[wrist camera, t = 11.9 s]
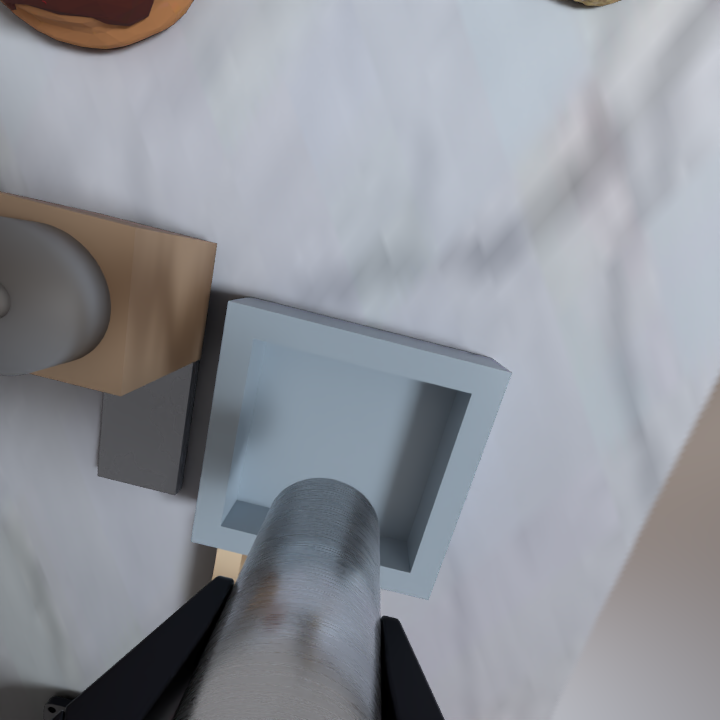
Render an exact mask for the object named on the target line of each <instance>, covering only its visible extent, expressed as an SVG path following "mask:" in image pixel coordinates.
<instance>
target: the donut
mask: <svg viewBox="0 0 720 720" xmlns="http://www.w3.org/2000/svg"><path fill="white" fill-rule="evenodd" d="M0 1H1V2H2V3H3V4H4V5H6V6H7V7H8V8H9V9H10V10H11V11H12V12H13V13H14V14H15V15H16V16H18V17H19V18H21V19H22V20H23V21H25V22H26V23H28V24H29V25H30V26H32V27H33V28H35V29H36V30H37V31H39V32H41V33H43V34H46V35H48V36H50V37H52V38H54V39H56V40H58V41H62V42H66V43H69V44H73V45H76V46H80V47H89V48H101V49H110V48H117V47H123V46H126V45H130V44H133V43H136V42H139V41H141V40H143V39H145V38H147V37H150V36H152V35H154V34H156V33H159V32H161V31H163V30H165V29H167V28H169V27H170V26H172V25H173V24H174V23H175V22H177V21H178V20H179V19H180V18H181V17H182V16H183V15H184V14H185V13H186V12H187V10H188V8H189V7H190V5H191V4H192V2H193V1H194V0H0Z"/></svg>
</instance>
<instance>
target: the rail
mask: <svg viewBox="0 0 720 720" xmlns="http://www.w3.org/2000/svg"><path fill="white" fill-rule="evenodd" d="M199 360H200V359H199ZM199 360H197V361H195V362H193V363H191V364H189V365H187V366H184V367H182V368H180V369H178V370H176V371H174V372H172V373H170V374H167V375H165V376H163V377H161V378H159V379H157V380H155V381H153V382H150V383H148V384H146V385H144V386H142V387H140V388H138V389H136V390H134V391H131V392H129V393H127V394H125V395H123V396H117V395H113V394H109V393H105V392H104V395H103V408H102V422H101V435H100V449H99V462H98V476H100V477H104V478H108V479H112V480H116V481H120V482H124V483H128V484H132V485H136V486H140V487H144V488H148V489H152V490H156V491H160V492H164V493H168V494H172V495H176V494H177V493H178V491H179V490H180V489H181V488H182V481H183V474H184V467H185V460H186V453H187V445H188V438H189V431H190V424H191V417H192V410H193V403H194V396H195V389H196V382H197V375H198V367H199Z"/></svg>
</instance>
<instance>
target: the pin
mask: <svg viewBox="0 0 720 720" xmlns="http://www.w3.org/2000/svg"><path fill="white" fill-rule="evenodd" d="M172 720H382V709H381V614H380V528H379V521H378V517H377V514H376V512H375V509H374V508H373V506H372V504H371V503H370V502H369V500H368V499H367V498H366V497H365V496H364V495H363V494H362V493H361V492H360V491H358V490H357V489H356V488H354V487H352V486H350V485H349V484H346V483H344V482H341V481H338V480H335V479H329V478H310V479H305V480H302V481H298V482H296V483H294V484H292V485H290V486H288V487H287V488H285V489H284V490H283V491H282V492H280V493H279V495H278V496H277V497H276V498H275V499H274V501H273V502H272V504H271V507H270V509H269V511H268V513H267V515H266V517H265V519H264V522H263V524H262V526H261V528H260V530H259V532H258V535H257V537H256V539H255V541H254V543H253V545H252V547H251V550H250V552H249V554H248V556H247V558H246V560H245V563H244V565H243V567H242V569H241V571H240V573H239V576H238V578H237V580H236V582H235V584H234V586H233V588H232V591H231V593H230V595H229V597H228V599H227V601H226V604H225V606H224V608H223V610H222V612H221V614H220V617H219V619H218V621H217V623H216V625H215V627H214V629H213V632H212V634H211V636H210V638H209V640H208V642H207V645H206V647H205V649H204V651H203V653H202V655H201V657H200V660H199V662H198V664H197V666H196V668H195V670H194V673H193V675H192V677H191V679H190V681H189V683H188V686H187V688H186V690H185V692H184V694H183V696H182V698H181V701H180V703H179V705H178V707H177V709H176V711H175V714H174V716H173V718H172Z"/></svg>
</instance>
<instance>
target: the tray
mask: <svg viewBox="0 0 720 720" xmlns="http://www.w3.org/2000/svg"><path fill="white" fill-rule="evenodd" d="M511 374H512V372H510V371H509V370H507V369H506V368H505V367H503V366H502V365H501V364H499V363H498V362H496V361H495V360H494V359H492V358H490V357H486V356H482V355H478V354H474V353H470V352H466V351H462V350H458V349H454V348H450V347H446V346H442V345H438V344H434V343H431V342H427V341H423V340H419V339H415V338H411V337H407V336H403V335H399V334H395V333H391V332H387V331H383V330H379V329H375V328H372V327H368V326H364V325H360V324H356V323H352V322H348V321H344V320H340V319H336V318H332V317H328V316H324V315H320V314H316V313H313V312H309V311H305V310H301V309H297V308H293V307H289V306H285V305H281V304H277V303H273V302H269V301H265V300H261V299H257V298H254V297H247V298H242V299H236V300H230V301H228V305H227V312H226V318H225V325H224V331H223V338H222V344H221V350H220V357H219V363H218V370H217V376H216V383H215V389H214V396H213V402H212V409H211V415H210V421H209V428H208V434H207V441H206V447H205V454H204V460H203V467H202V473H201V479H200V486H199V492H198V499H197V505H196V512H195V518H194V525H193V531H192V538H191V542H194V543H199V544H203V545H207V546H211V547H215V548H219V549H223V550H227V551H231V552H235V553H239V554H243V555H247V556H248V554H249V552H250V550H251V547H252V545H253V543H254V541H255V539H256V537H257V535H258V532H259V530H260V528H261V526H262V524H263V522H264V519H265V517H266V515H267V513H268V511H269V509H270V507H271V504H272V502H273V501H274V499H275V498H276V497H277V496H278V495H279V493H280V492H282V491H283V490H284V489H285V488H287V487H288V486H290V485H292V484H294V483H296V482H298V481H302V480H305V479H310V478H329V479H335V480H338V481H341V482H344V483H346V484H349V485H350V486H352V487H354V488H356V489H357V490H358V491H360V492H361V493H362V494H363V495H364V496H365V497H366V498H367V499H368V500H369V502H370V503H371V504H372V506H373V508H374V509H375V512H376V514H377V517H378V521H379V528H380V588H381V589H385V590H389V591H393V592H397V593H401V594H405V595H409V596H413V597H418V598H422V599H426V600H429V597H430V594H431V592H432V589H433V586H434V584H435V581H436V578H437V575H438V573H439V570H440V567H441V565H442V562H443V559H444V556H445V554H446V551H447V548H448V546H449V543H450V540H451V537H452V535H453V532H454V529H455V527H456V524H457V521H458V518H459V516H460V513H461V510H462V507H463V505H464V502H465V499H466V497H467V494H468V491H469V488H470V486H471V483H472V480H473V478H474V475H475V472H476V469H477V467H478V464H479V461H480V459H481V456H482V453H483V450H484V448H485V445H486V442H487V440H488V437H489V434H490V431H491V429H492V426H493V423H494V420H495V418H496V415H497V412H498V410H499V407H500V404H501V401H502V399H503V396H504V393H505V391H506V388H507V385H508V382H509V380H510V377H511Z"/></svg>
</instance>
